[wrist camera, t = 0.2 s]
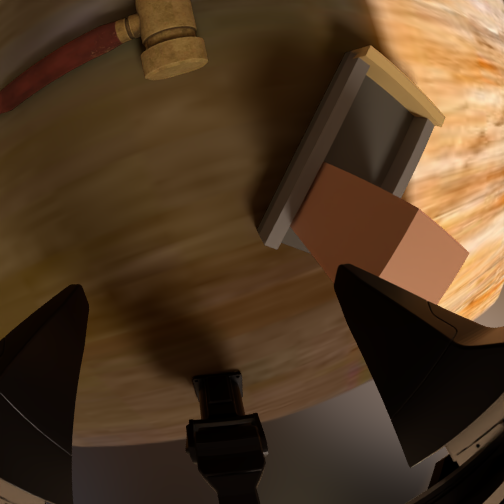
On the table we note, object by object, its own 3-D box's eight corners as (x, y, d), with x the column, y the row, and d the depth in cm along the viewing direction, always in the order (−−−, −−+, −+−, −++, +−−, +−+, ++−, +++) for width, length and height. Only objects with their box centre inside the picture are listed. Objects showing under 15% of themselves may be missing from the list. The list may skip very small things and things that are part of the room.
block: (345, 246, 26) (420, 327, 15) (285, 221, 23) (354, 312, 13) (375, 193, 23) (469, 253, 13) (318, 159, 21) (419, 208, 11)
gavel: (-17, 167, 13) (-31, 75, 8) (11, 155, 17) (-3, 73, 12) (207, 56, 13) (183, -49, 8) (209, 68, 17) (188, -25, 12)
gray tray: (341, 261, 28) (359, 282, 24) (256, 229, 24) (267, 250, 21) (418, 113, 21) (445, 117, 18) (345, 52, 18) (370, 45, 14)
